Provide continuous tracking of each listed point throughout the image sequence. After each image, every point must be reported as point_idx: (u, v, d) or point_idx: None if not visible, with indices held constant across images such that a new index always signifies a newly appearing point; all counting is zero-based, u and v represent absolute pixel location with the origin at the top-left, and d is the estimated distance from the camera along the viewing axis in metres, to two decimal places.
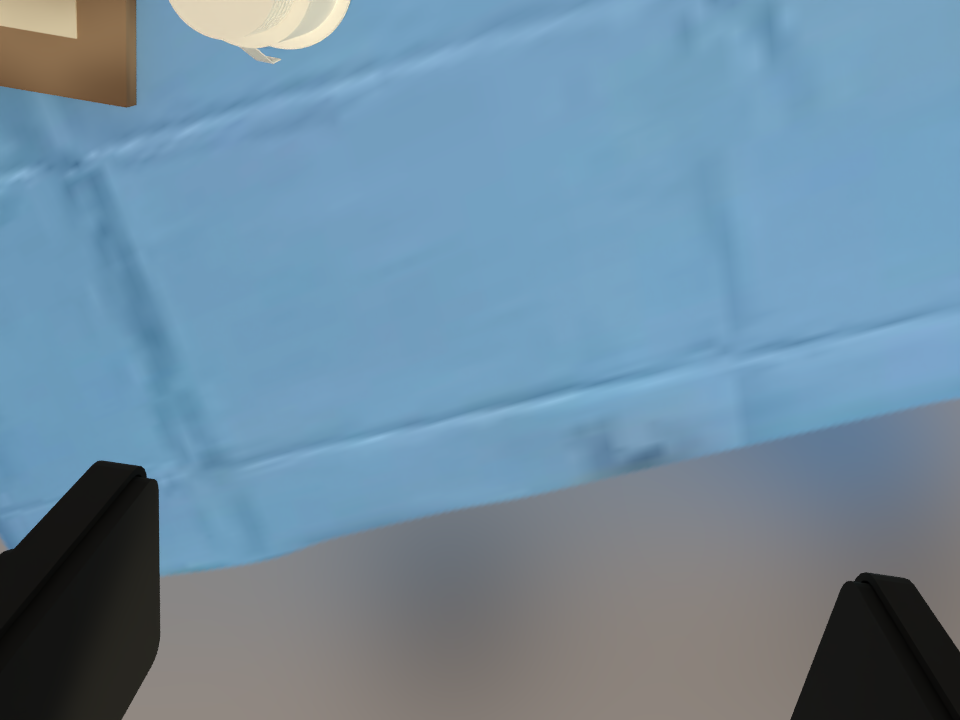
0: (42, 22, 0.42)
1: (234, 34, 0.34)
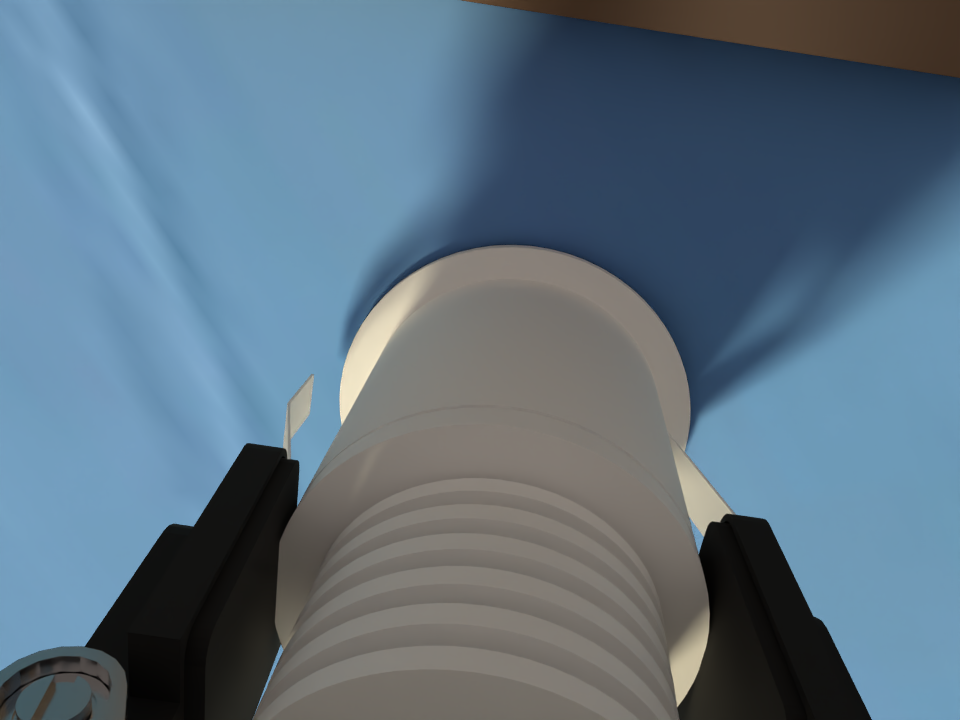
0: None
1: None
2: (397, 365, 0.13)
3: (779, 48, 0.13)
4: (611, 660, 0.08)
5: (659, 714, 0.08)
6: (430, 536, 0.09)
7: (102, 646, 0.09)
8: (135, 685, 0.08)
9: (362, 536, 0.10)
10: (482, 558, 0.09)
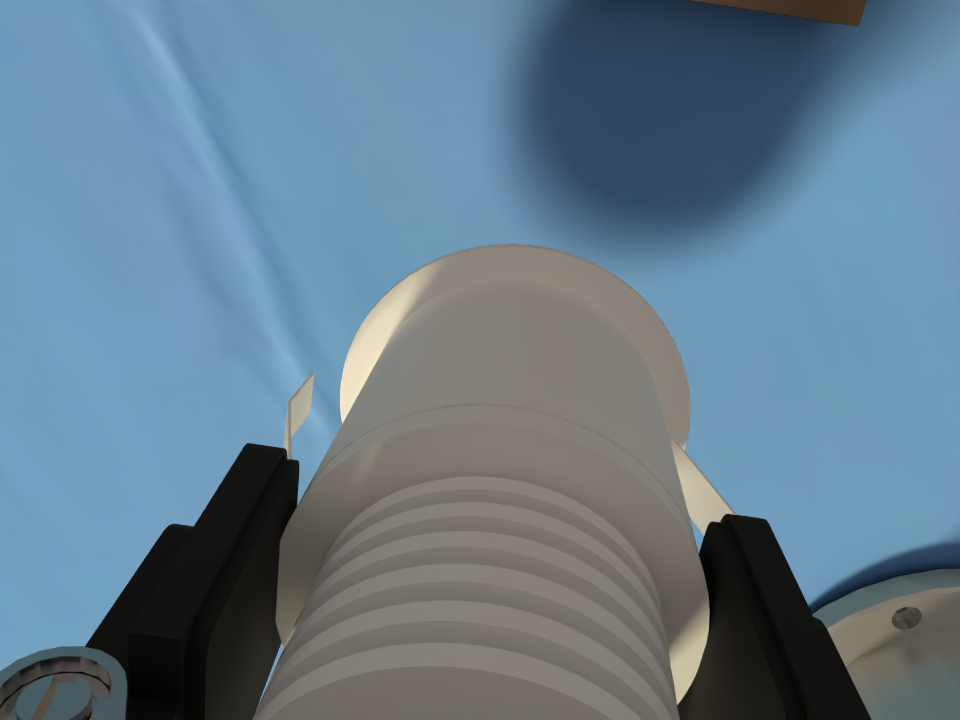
0: None
1: None
2: (397, 364, 0.13)
3: None
4: (611, 658, 0.08)
5: (659, 711, 0.08)
6: (430, 534, 0.09)
7: (102, 646, 0.09)
8: (135, 685, 0.08)
9: (362, 534, 0.10)
10: (482, 555, 0.09)
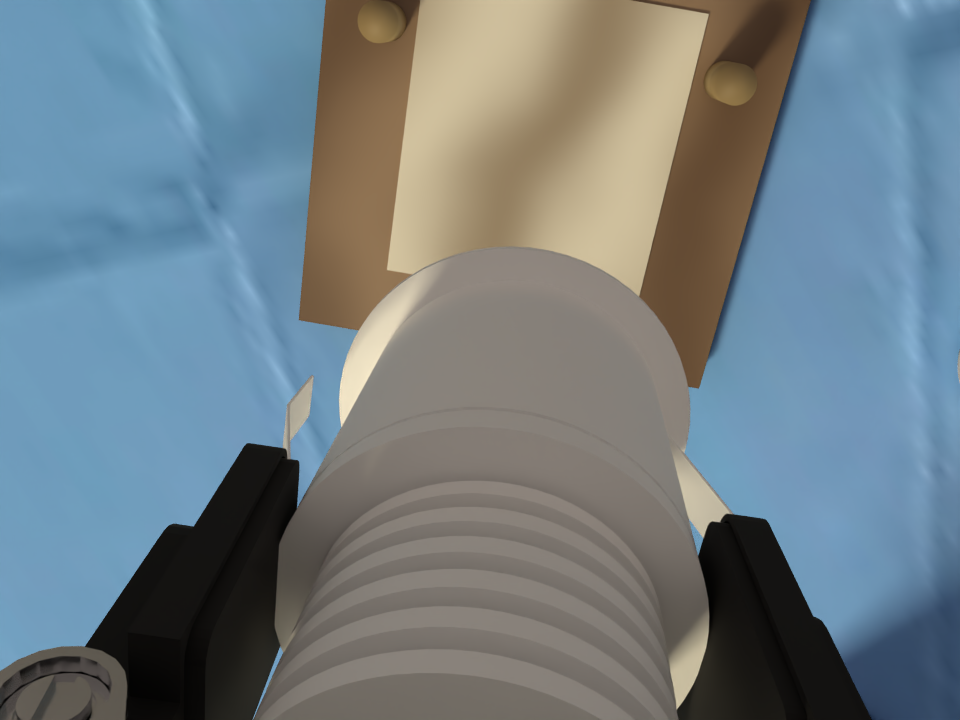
0: (407, 224, 0.29)
1: None
2: (397, 367, 0.13)
3: None
4: (610, 664, 0.08)
5: (658, 718, 0.08)
6: (429, 539, 0.09)
7: (102, 646, 0.09)
8: (135, 685, 0.08)
9: (362, 538, 0.10)
10: (481, 560, 0.09)
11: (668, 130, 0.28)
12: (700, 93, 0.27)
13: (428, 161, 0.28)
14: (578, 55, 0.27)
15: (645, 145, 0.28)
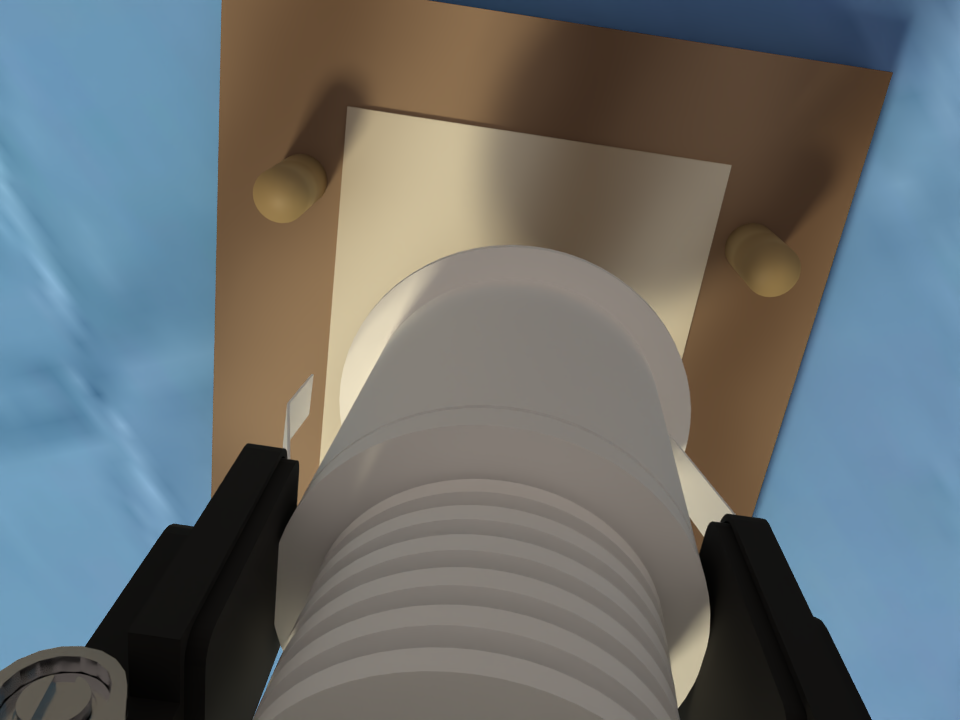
0: None
1: None
2: (397, 365, 0.13)
3: None
4: (612, 662, 0.08)
5: (660, 716, 0.08)
6: (430, 537, 0.09)
7: (102, 646, 0.09)
8: (135, 685, 0.08)
9: (361, 536, 0.10)
10: (482, 558, 0.09)
11: (678, 309, 0.21)
12: (721, 264, 0.20)
13: None
14: (557, 218, 0.20)
15: None
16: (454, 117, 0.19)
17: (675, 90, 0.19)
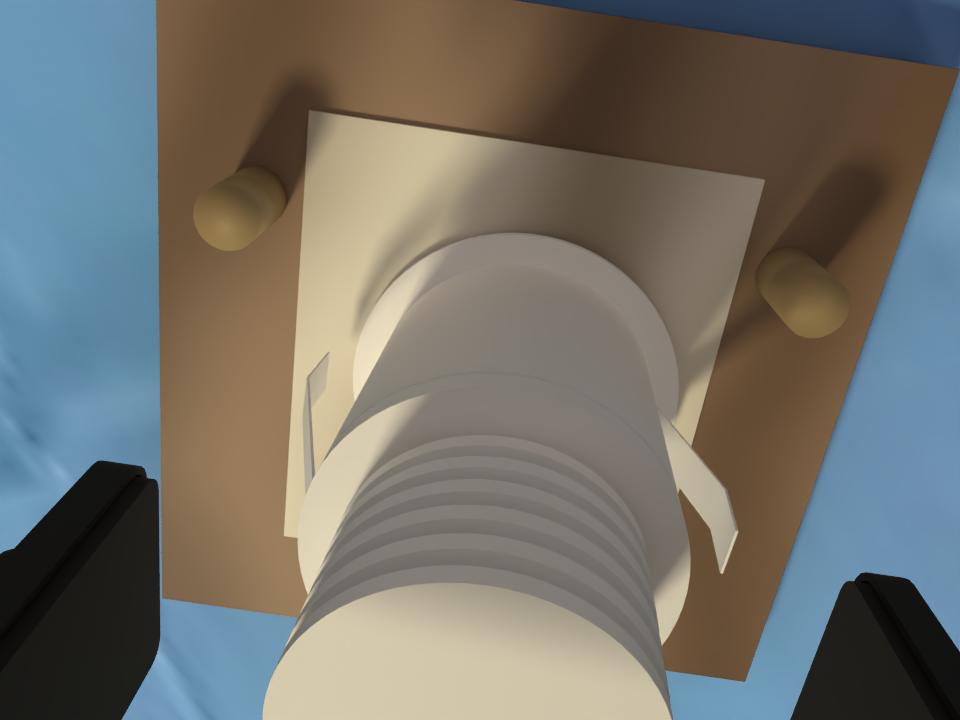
0: None
1: None
2: (409, 340, 0.14)
3: None
4: (600, 583, 0.09)
5: (641, 629, 0.09)
6: (443, 482, 0.10)
7: None
8: None
9: (381, 484, 0.11)
10: (489, 499, 0.10)
11: (700, 346, 0.18)
12: (750, 294, 0.17)
13: (334, 392, 0.19)
14: None
15: None
16: (436, 123, 0.16)
17: (699, 91, 0.16)
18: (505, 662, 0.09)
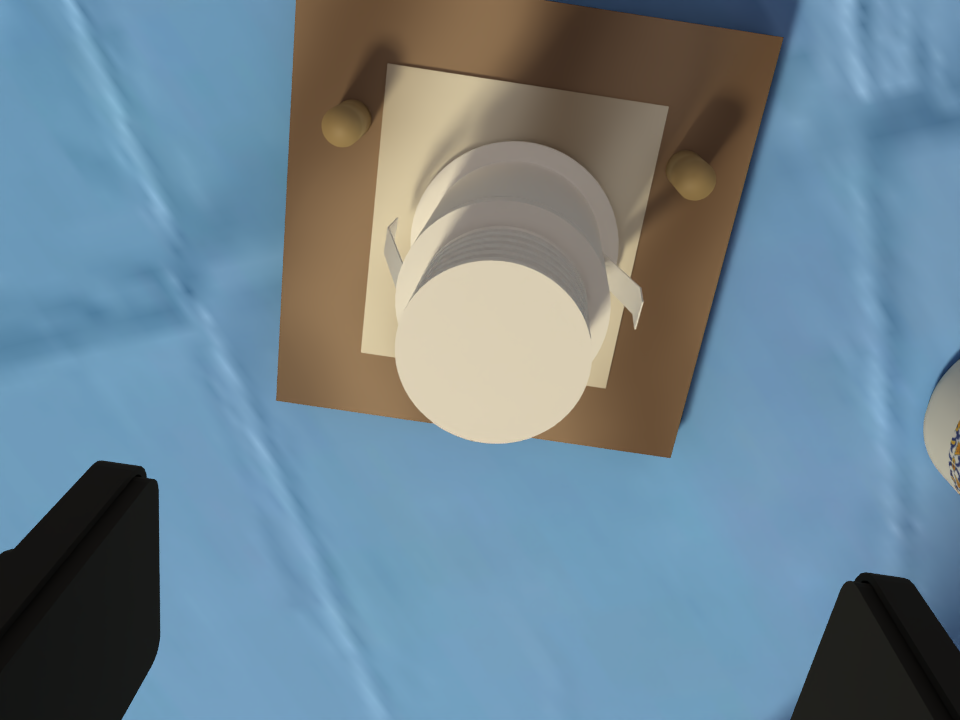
0: (379, 309, 0.30)
1: (404, 368, 0.20)
2: (453, 195, 0.24)
3: (559, 440, 0.32)
4: (556, 273, 0.19)
5: (576, 295, 0.19)
6: (479, 240, 0.20)
7: None
8: None
9: (446, 248, 0.21)
10: (502, 244, 0.20)
11: (632, 216, 0.28)
12: (663, 181, 0.28)
13: None
14: None
15: None
16: (466, 71, 0.26)
17: (627, 51, 0.26)
18: (511, 302, 0.19)
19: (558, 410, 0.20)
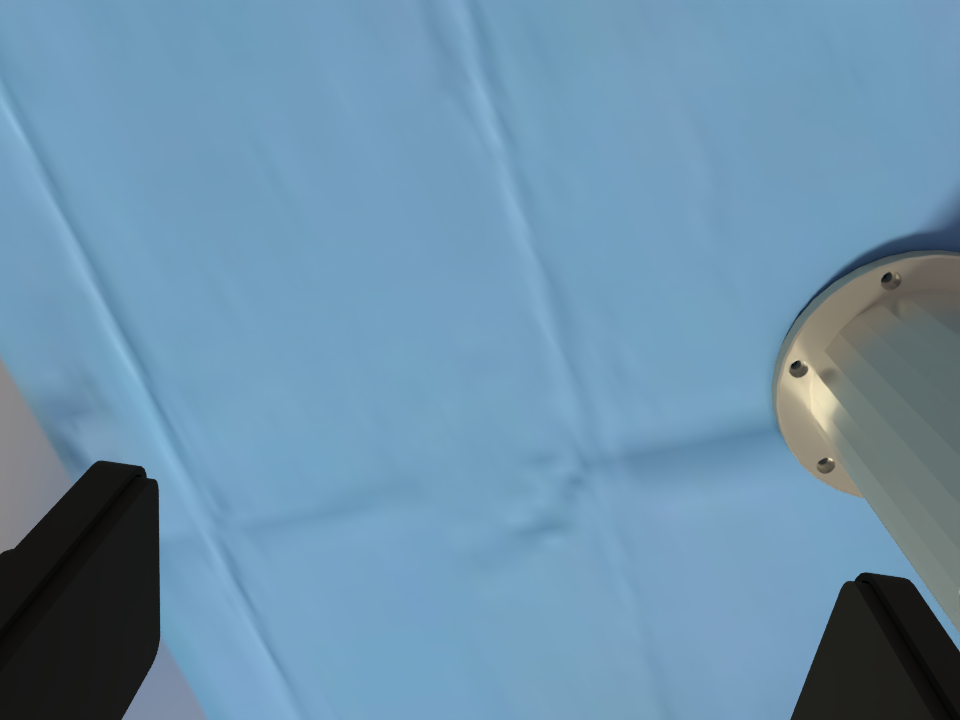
0: None
1: None
2: None
3: None
4: None
5: None
6: None
7: None
8: None
9: None
10: None
11: None
12: None
13: None
14: None
15: None
16: None
17: None
18: None
19: None
